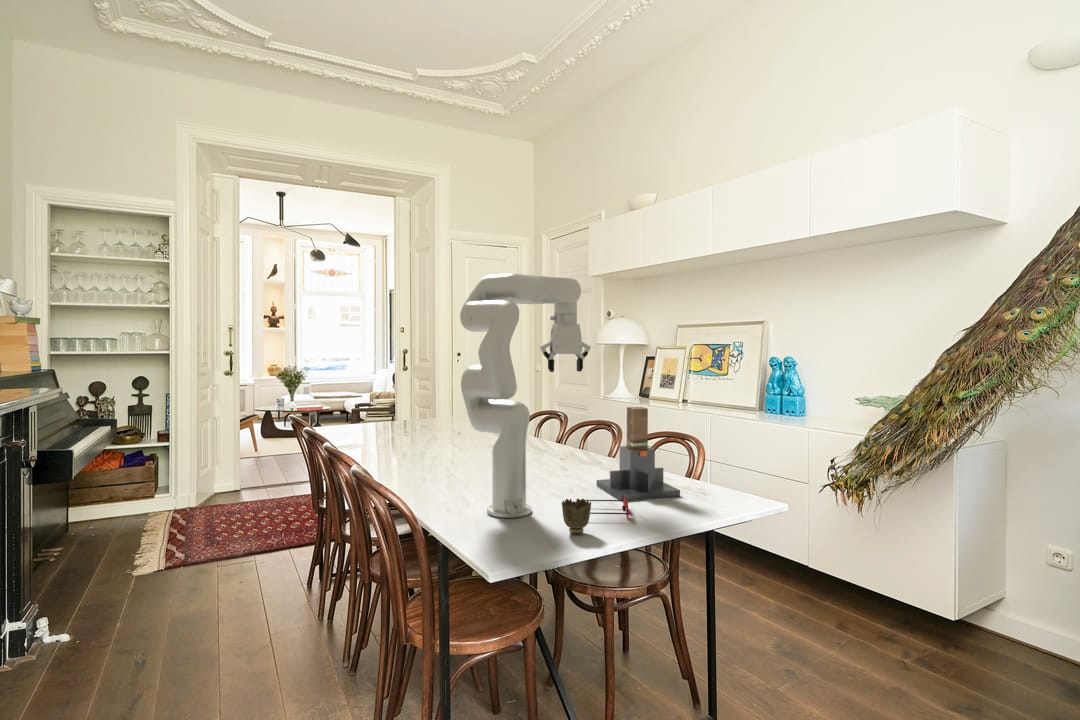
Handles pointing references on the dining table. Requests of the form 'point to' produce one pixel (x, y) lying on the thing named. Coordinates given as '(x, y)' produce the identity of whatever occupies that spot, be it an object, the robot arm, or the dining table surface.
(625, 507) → the glasses
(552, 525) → the dining table surface
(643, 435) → the column
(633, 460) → the stand
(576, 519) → the cup
